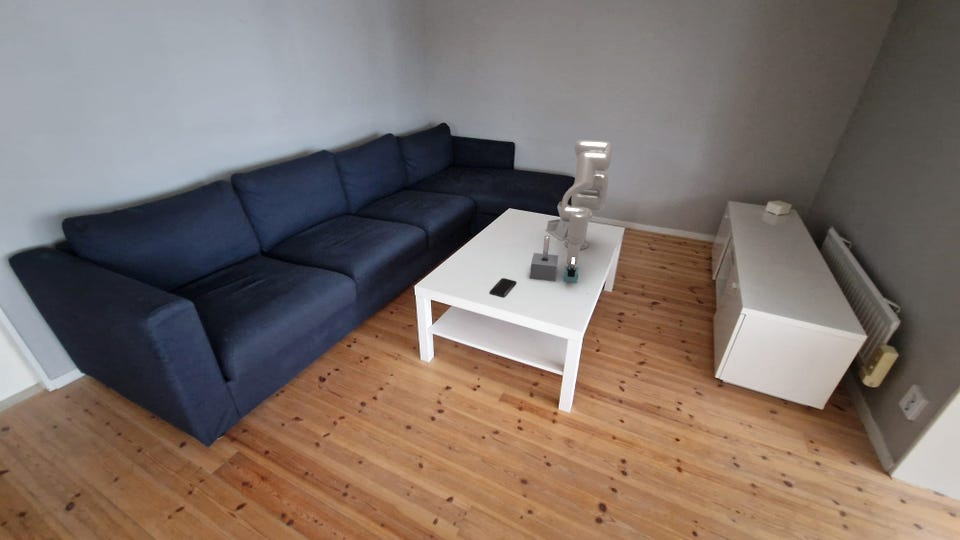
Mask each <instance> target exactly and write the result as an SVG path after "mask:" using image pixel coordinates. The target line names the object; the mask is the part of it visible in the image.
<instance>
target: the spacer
mask: <svg viewBox="0 0 960 540" xmlns="http://www.w3.org/2000/svg"><path fill="white" fill-rule="evenodd" d="M568 269H569V266H567V265H564V269H563V278H562V279H563V282H566V283H573V284H577V283H578V279H579V278H578V277H579V267H577V266H575V277H568V276H567V275H568Z"/></svg>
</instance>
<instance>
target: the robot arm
mask: <svg viewBox="0 0 960 540" xmlns="http://www.w3.org/2000/svg"><path fill="white" fill-rule="evenodd" d="M612 151H613V145H612V142H610V141H607V140H595V139H579V140H576V142H575V144H574V152H575V155H576V158H577V162H576V168H575V169H576V170H575V176H574V183H573V185H572V186H571V187H569V188H568V190H567V191H566V192H565V193H564V195H563V197H562V200H561V202H562V204H561V212H560V215H559V219H560V218H561V220H562V221H564V222H569V228H568V236H567V240H564V246H565V247H566V248H567V254H566V264H567V265H568V266H569V269H568V275H567V276H568V277H575V267H576V265H578V261H579V257H580V251H581V250H586V249H587V248H588V243H587V242H586V239H587V238H586V237H587V232H588V226H589V225H588V224H589V222H591V220H592V218H593V211H602V210H603V209H604V208H605V204H606V200H607V193H608V192H607V191H608V185H609V175H608V174H607V172H606V171H608V170H609V168H610V165H611V162H612ZM570 198H571V205H570V206H568V205H569V200H570ZM567 204H568V205H567Z"/></svg>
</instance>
